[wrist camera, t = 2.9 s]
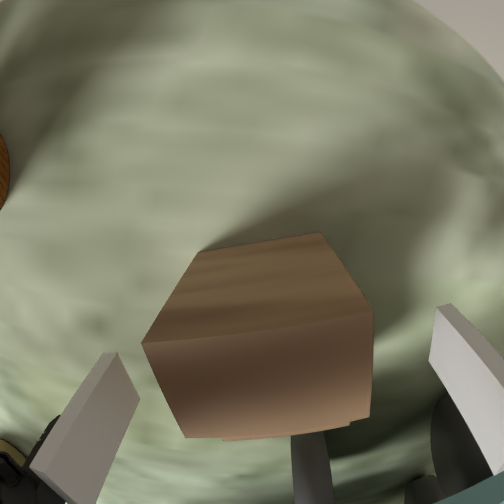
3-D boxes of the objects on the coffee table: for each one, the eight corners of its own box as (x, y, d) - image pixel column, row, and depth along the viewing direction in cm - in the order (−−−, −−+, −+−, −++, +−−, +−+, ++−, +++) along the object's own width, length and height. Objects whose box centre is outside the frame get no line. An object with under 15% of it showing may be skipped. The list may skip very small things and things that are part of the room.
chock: (332, 363, 17) (361, 474, 9) (231, 377, 18) (216, 490, 10) (320, 231, 15) (373, 311, 7) (198, 252, 15) (140, 342, 8)
